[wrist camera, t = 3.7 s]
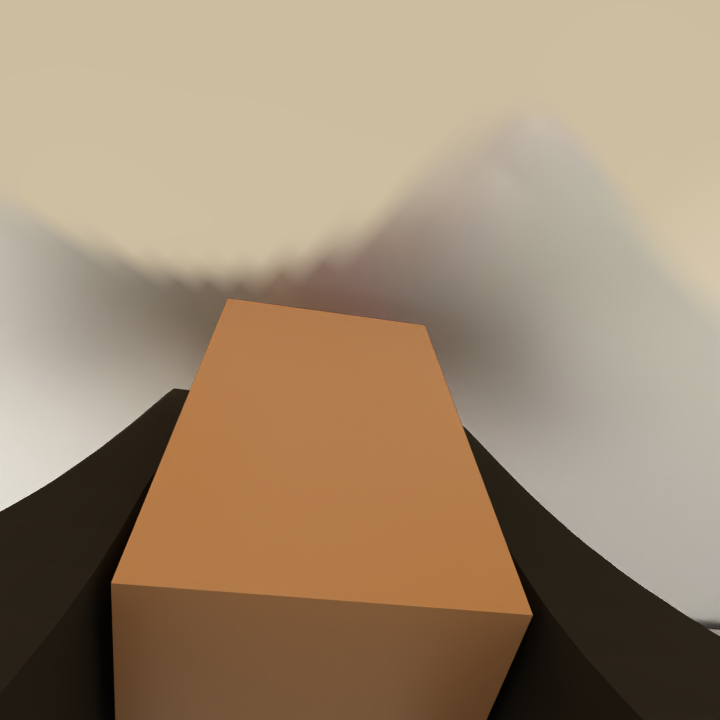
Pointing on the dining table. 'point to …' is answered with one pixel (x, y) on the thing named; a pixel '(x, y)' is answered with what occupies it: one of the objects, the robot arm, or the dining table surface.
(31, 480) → the dining table surface
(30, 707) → the robot arm
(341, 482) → the plug
